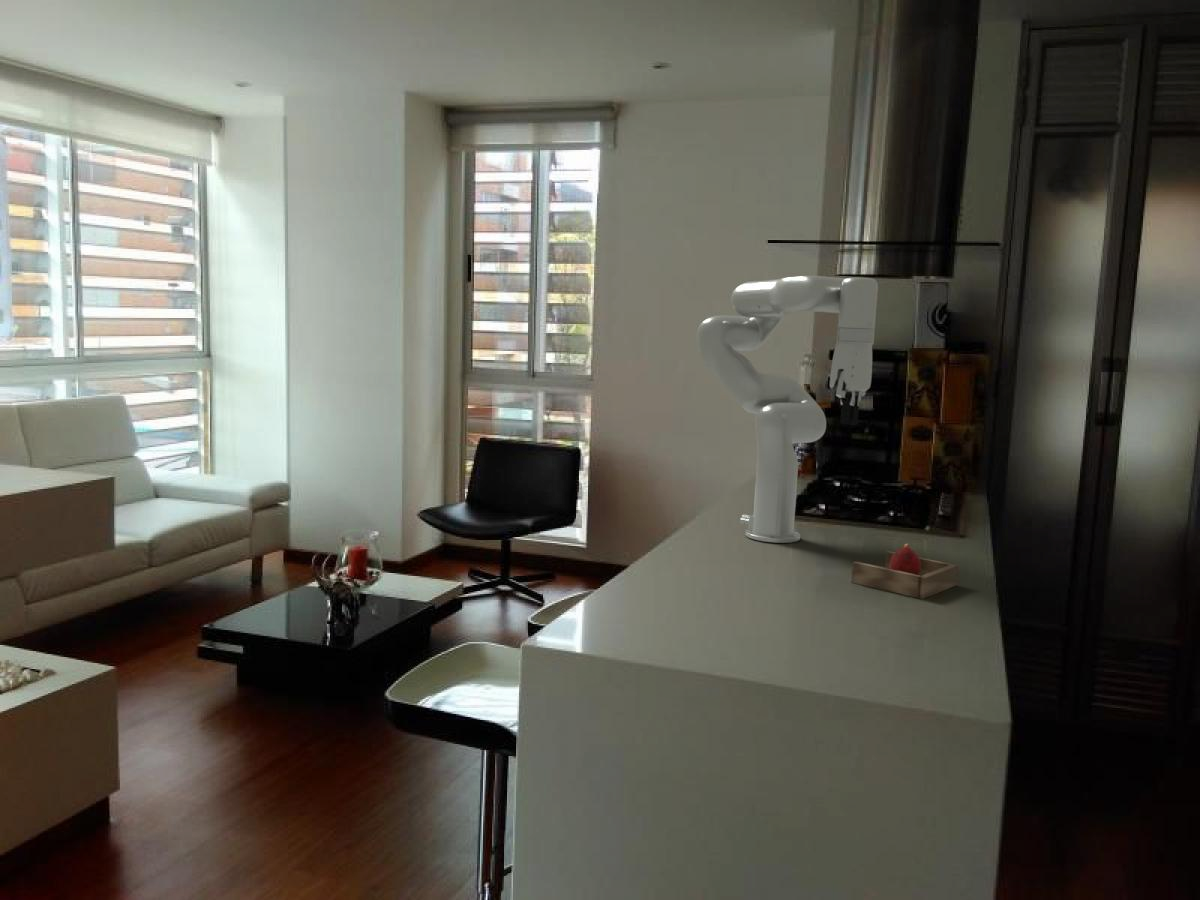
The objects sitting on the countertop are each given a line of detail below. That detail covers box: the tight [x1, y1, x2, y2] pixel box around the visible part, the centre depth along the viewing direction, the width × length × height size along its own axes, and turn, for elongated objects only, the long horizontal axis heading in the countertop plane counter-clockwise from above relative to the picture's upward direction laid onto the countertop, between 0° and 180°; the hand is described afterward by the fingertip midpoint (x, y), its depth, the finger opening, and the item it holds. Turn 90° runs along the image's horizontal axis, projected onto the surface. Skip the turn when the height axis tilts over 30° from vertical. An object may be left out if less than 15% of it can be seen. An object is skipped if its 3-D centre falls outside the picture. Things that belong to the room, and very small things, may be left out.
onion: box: [890, 543, 921, 575], centre depth 187 cm, size 6×6×8 cm
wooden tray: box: [851, 550, 959, 600], centre depth 188 cm, size 15×15×4 cm
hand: (848, 423), depth 204 cm, fingers closed
